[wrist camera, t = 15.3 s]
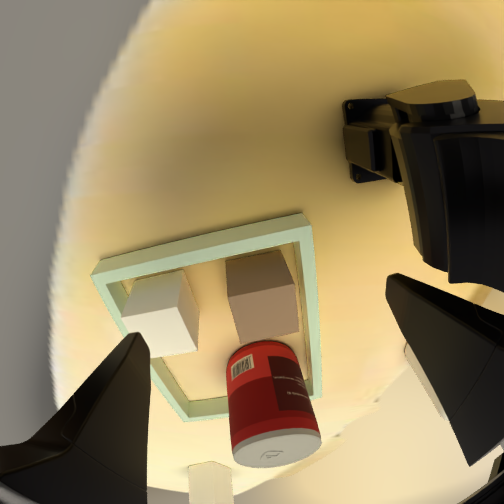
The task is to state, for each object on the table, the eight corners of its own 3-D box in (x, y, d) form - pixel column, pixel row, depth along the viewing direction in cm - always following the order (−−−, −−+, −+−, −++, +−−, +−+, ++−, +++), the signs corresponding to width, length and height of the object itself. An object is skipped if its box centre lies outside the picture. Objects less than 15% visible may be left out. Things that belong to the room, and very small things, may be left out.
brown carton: (280, 249, 23) (294, 283, 19) (286, 293, 25) (299, 331, 21) (225, 260, 23) (227, 297, 19) (236, 304, 25) (240, 343, 21)
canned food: (222, 384, 30) (228, 470, 21) (229, 337, 27) (238, 437, 17) (286, 384, 32) (306, 464, 22) (304, 338, 28) (336, 429, 19)
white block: (183, 269, 23) (176, 306, 19) (199, 310, 25) (197, 351, 21) (135, 280, 23) (120, 317, 19) (154, 319, 25) (145, 359, 21)
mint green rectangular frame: (301, 212, 22) (311, 225, 20) (316, 381, 32) (322, 397, 30) (100, 260, 22) (90, 275, 20) (184, 406, 32) (183, 422, 30)
